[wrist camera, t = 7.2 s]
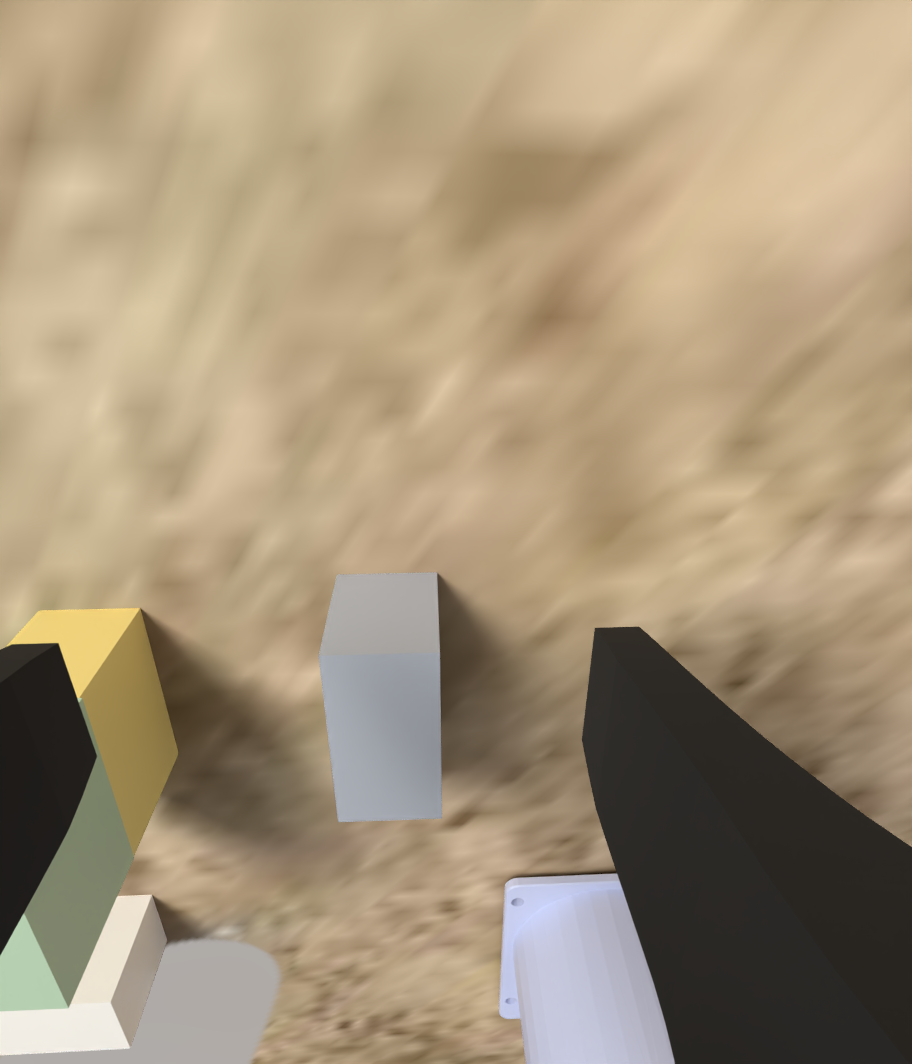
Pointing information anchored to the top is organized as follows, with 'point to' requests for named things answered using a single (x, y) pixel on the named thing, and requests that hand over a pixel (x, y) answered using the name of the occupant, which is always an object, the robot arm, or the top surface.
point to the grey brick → (383, 696)
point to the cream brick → (98, 989)
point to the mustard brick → (116, 701)
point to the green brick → (68, 903)
